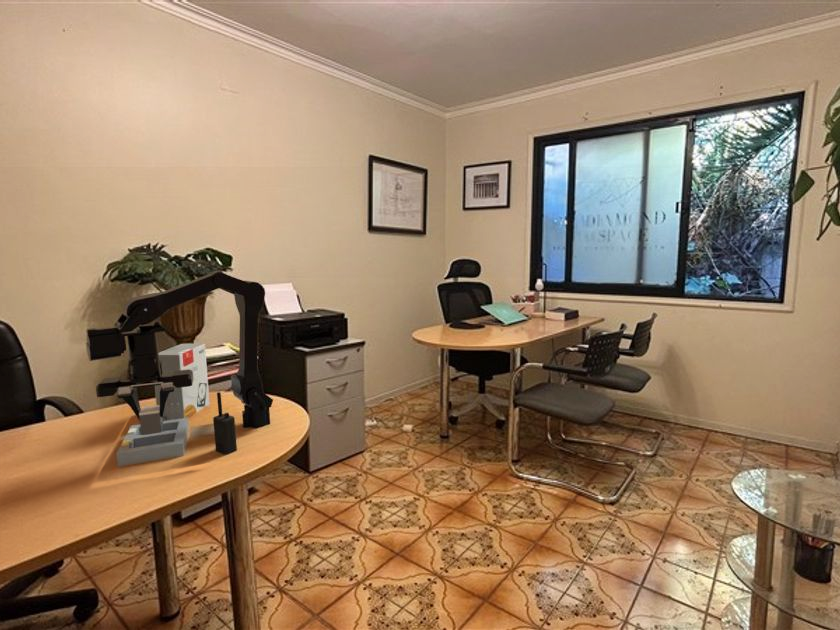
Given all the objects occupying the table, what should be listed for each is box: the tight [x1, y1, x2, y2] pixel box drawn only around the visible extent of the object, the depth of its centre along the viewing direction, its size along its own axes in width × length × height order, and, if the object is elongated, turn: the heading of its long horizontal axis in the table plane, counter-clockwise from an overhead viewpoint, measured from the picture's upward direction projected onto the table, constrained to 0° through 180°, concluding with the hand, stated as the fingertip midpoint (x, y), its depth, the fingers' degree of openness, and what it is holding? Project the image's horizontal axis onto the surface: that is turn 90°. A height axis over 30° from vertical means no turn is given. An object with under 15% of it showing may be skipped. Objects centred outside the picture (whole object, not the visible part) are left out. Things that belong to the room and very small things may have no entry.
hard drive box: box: [153, 343, 211, 421], centre depth 132 cm, size 16×8×20 cm, turn 179°
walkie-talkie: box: [212, 391, 238, 455], centre depth 108 cm, size 5×3×15 cm
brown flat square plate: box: [189, 423, 215, 439], centre depth 121 cm, size 7×8×1 cm
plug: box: [139, 405, 164, 435], centre depth 107 cm, size 4×4×5 cm
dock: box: [116, 418, 190, 467], centre depth 112 cm, size 13×17×4 cm
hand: (151, 417), depth 107 cm, fingers closed on plug, 4 cm apart
